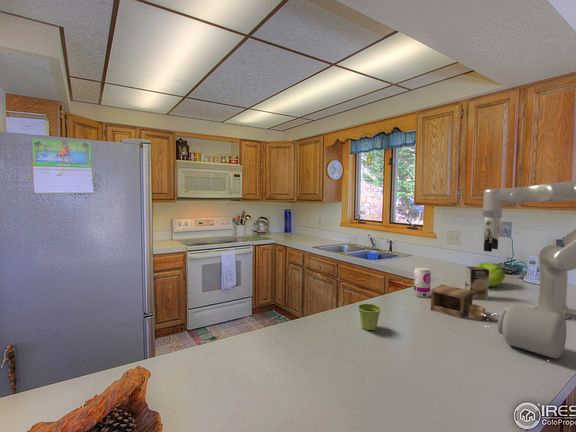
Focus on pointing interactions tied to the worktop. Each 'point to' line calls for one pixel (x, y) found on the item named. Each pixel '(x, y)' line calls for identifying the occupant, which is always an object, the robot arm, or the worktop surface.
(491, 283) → the lettuce
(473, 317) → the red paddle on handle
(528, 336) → the jar
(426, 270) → the supplement can
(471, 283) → the coffee box
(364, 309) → the plant pot
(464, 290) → the open wooden crate
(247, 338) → the worktop surface
